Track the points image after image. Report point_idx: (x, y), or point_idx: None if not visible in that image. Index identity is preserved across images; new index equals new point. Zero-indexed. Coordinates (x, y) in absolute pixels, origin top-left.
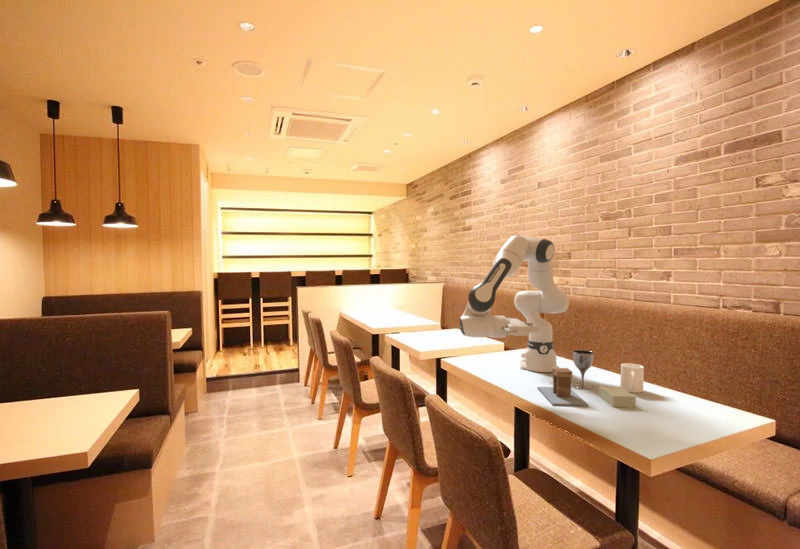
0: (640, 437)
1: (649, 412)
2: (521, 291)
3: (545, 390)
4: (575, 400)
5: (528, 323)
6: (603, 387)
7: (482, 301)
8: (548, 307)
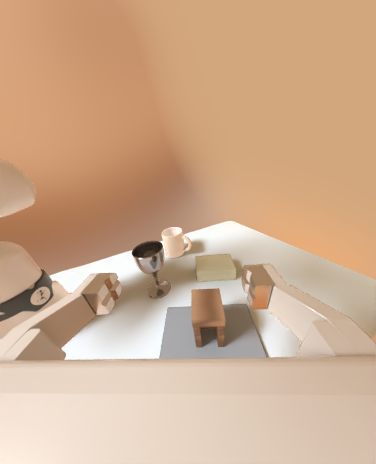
0: (336, 283)
1: (240, 257)
2: None
3: None
4: (234, 317)
5: (96, 295)
6: (201, 269)
7: None
8: None
